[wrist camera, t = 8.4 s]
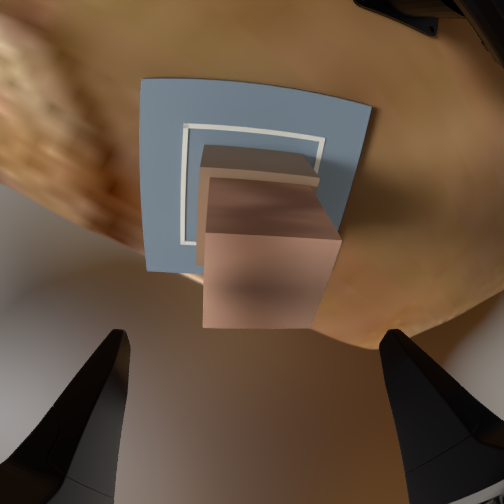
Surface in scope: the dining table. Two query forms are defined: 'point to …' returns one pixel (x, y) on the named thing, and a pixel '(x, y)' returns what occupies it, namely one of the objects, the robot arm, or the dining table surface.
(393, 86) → the dining table surface
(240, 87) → the blueprint board
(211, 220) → the terracotta block
